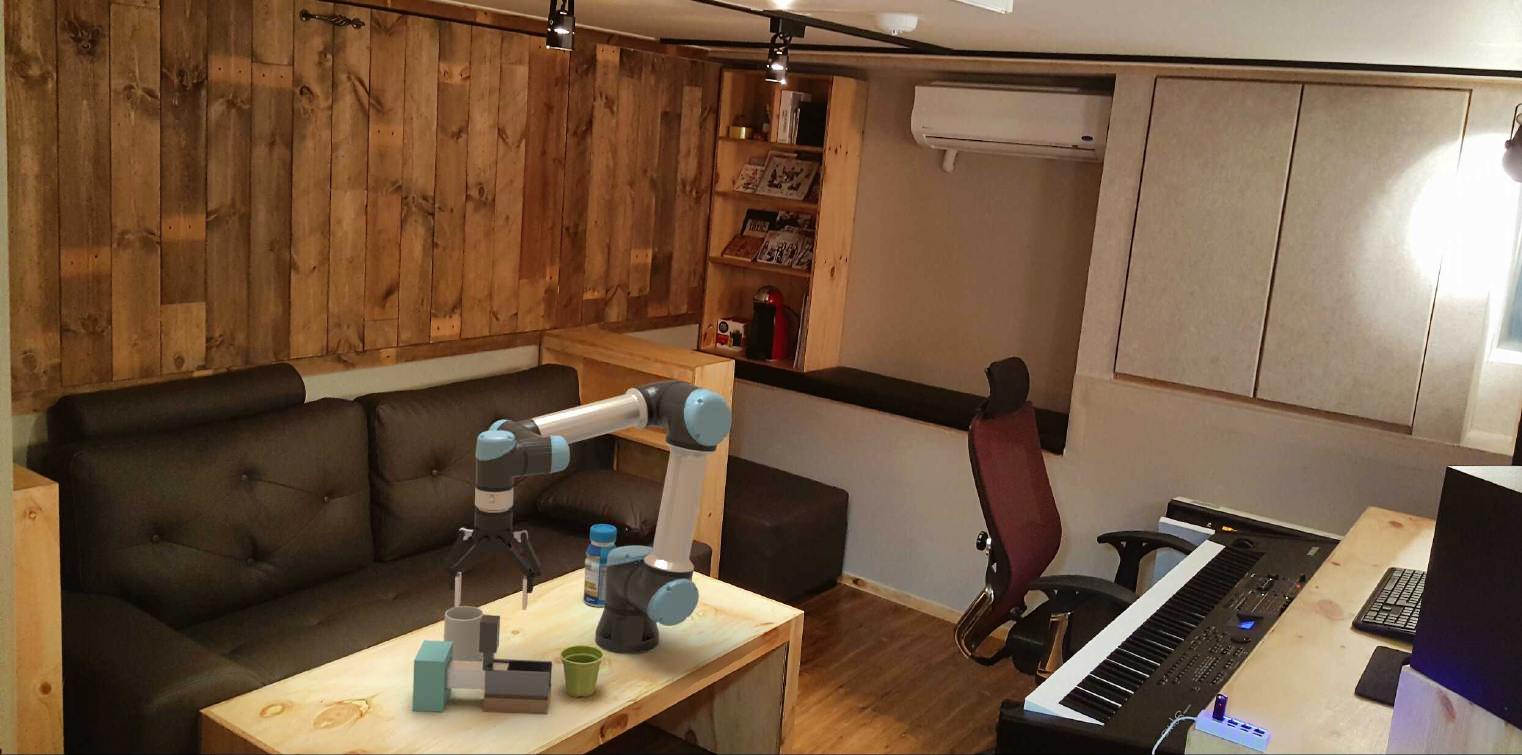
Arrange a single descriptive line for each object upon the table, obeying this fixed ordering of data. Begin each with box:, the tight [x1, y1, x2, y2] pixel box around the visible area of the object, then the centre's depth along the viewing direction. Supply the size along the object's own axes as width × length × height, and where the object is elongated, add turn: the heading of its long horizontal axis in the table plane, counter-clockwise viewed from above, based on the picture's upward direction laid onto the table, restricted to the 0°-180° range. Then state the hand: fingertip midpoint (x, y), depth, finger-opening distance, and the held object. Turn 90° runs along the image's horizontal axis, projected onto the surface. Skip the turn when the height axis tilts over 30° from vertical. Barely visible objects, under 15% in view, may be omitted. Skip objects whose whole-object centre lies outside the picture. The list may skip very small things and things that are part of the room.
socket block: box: [412, 639, 453, 713], centre depth 249 cm, size 6×10×11 cm, turn 4°
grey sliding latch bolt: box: [445, 614, 509, 691], centre depth 248 cm, size 16×4×15 cm, turn 94°
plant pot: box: [559, 644, 605, 698], centre depth 258 cm, size 9×9×9 cm
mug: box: [443, 605, 491, 662], centre depth 271 cm, size 12×8×11 cm
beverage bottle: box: [583, 523, 618, 608], centre depth 308 cm, size 8×8×20 cm
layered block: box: [482, 658, 553, 715], centre depth 251 cm, size 13×8×8 cm, turn 94°
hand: (491, 606), depth 247 cm, fingers open, 13 cm apart
